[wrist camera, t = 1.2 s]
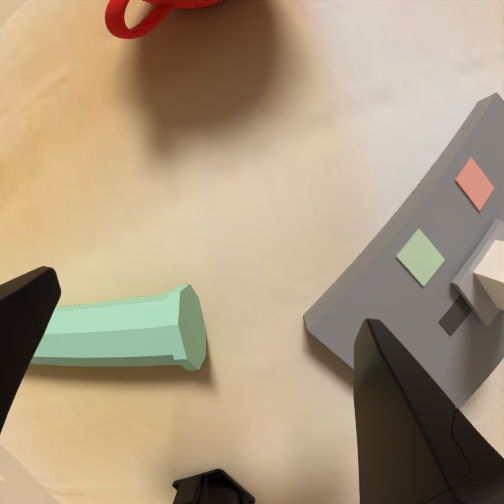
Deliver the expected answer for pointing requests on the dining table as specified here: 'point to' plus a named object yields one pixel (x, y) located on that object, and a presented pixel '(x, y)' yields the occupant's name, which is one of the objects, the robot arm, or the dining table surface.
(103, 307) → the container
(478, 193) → the panel
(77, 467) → the dining table surface
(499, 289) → the breaker handle
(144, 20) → the ceramic cup
